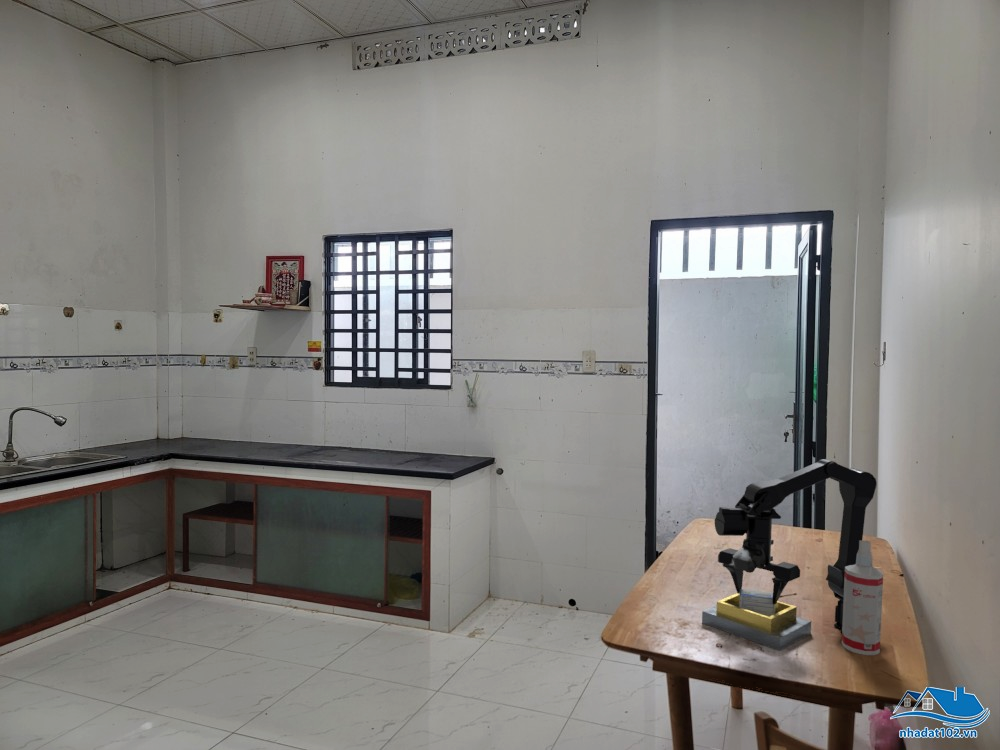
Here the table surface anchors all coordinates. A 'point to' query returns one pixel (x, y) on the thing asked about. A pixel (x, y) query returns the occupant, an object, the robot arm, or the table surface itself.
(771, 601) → the medicine box
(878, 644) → the white squeeze bottle
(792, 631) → the gold and grey tray
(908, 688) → the table surface
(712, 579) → the table surface
